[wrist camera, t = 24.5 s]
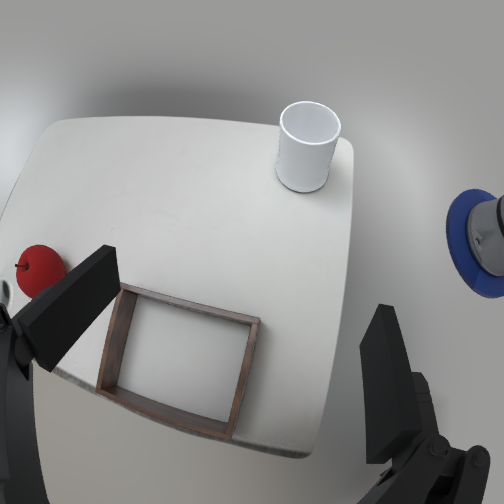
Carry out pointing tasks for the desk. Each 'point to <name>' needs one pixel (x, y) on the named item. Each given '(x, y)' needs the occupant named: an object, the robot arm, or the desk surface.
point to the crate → (150, 407)
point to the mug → (306, 145)
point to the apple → (39, 269)
